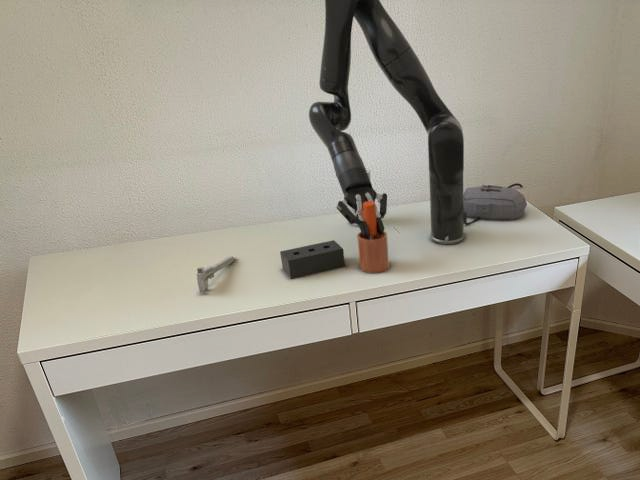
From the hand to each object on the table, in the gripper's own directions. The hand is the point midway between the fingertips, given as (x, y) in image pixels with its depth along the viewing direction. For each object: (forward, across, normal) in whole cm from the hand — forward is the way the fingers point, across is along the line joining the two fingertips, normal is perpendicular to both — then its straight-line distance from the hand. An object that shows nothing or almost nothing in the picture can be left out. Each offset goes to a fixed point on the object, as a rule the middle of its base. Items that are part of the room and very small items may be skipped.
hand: (374, 234), depth 169 cm
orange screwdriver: (+4, 0, +7) cm, 8 cm away
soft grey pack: (-6, +48, +20) cm, 53 cm away
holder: (0, -14, +14) cm, 19 cm away
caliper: (-5, -36, +19) cm, 41 cm away
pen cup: (+6, 0, +8) cm, 10 cm away
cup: (-16, +9, +30) cm, 35 cm away
